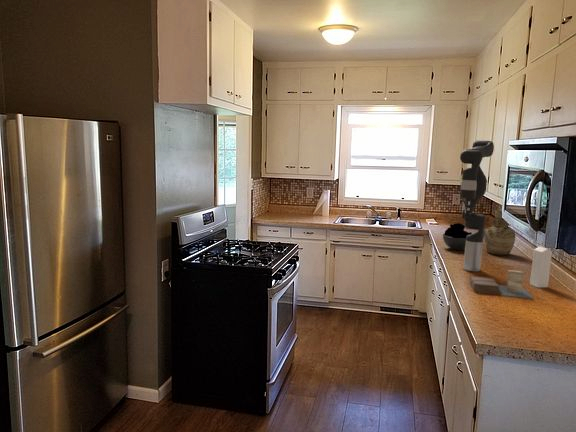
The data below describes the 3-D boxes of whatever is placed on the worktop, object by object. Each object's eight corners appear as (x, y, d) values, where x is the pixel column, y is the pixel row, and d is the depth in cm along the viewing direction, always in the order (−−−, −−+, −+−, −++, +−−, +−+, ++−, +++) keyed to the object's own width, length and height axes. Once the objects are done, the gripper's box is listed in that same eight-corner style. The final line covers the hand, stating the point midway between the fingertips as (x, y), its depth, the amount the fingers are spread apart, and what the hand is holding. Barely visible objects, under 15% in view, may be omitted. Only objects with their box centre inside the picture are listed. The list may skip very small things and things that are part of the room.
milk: (539, 284, 235) (544, 243, 232) (547, 287, 229) (553, 246, 226) (529, 284, 234) (534, 243, 231) (537, 287, 228) (542, 245, 225)
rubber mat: (495, 285, 229) (495, 284, 229) (522, 288, 226) (522, 287, 226) (503, 295, 212) (503, 294, 212) (532, 298, 209) (532, 298, 209)
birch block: (505, 289, 222) (508, 269, 220) (518, 290, 220) (521, 271, 219) (507, 291, 218) (510, 272, 216) (521, 292, 216) (523, 273, 215)
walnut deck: (469, 283, 231) (470, 275, 230) (492, 285, 228) (492, 278, 228) (473, 291, 217) (474, 283, 216) (498, 294, 214) (498, 286, 213)
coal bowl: (466, 247, 324) (469, 222, 321) (475, 253, 304) (478, 226, 301) (438, 246, 326) (441, 220, 323) (445, 251, 306) (448, 225, 303)
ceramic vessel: (485, 248, 322) (490, 208, 317) (516, 254, 307) (521, 211, 303) (476, 252, 308) (480, 210, 303) (508, 258, 294) (513, 213, 289)
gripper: (478, 190, 221) (475, 222, 223) (473, 188, 234) (470, 218, 237) (462, 189, 222) (459, 221, 225) (459, 187, 236) (456, 217, 238)
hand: (465, 219), depth 231 cm, fingers open, 8 cm apart
